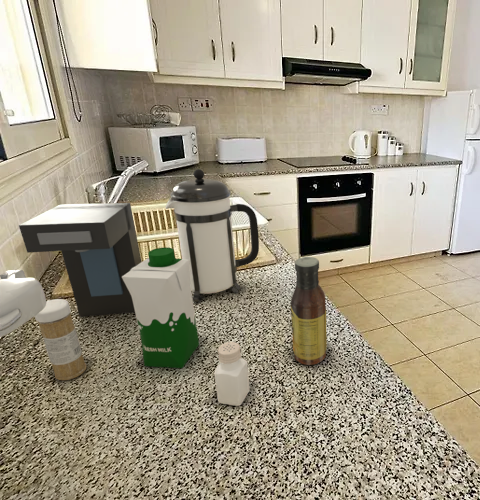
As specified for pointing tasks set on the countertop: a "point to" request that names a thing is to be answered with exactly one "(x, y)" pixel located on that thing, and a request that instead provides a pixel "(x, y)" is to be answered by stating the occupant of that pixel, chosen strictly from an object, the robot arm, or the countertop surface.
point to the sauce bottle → (308, 314)
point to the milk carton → (164, 308)
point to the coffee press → (209, 234)
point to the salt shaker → (231, 375)
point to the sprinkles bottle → (61, 339)
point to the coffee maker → (90, 251)
